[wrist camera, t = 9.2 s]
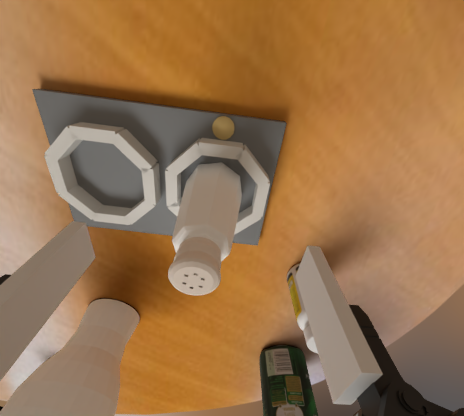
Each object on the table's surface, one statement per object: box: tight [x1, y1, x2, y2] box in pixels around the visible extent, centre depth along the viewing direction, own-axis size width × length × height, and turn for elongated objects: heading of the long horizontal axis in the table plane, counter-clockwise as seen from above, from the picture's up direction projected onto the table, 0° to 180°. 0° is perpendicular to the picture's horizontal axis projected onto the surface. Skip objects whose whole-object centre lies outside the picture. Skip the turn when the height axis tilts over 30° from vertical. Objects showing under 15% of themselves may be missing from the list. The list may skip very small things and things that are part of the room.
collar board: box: [32, 89, 286, 245], centre depth 20 cm, size 20×13×2 cm, turn 83°
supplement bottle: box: [287, 263, 318, 353], centre depth 24 cm, size 5×5×8 cm
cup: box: [0, 299, 140, 416], centre depth 27 cm, size 11×11×15 cm
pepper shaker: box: [168, 162, 242, 295], centre depth 16 cm, size 5×5×11 cm
